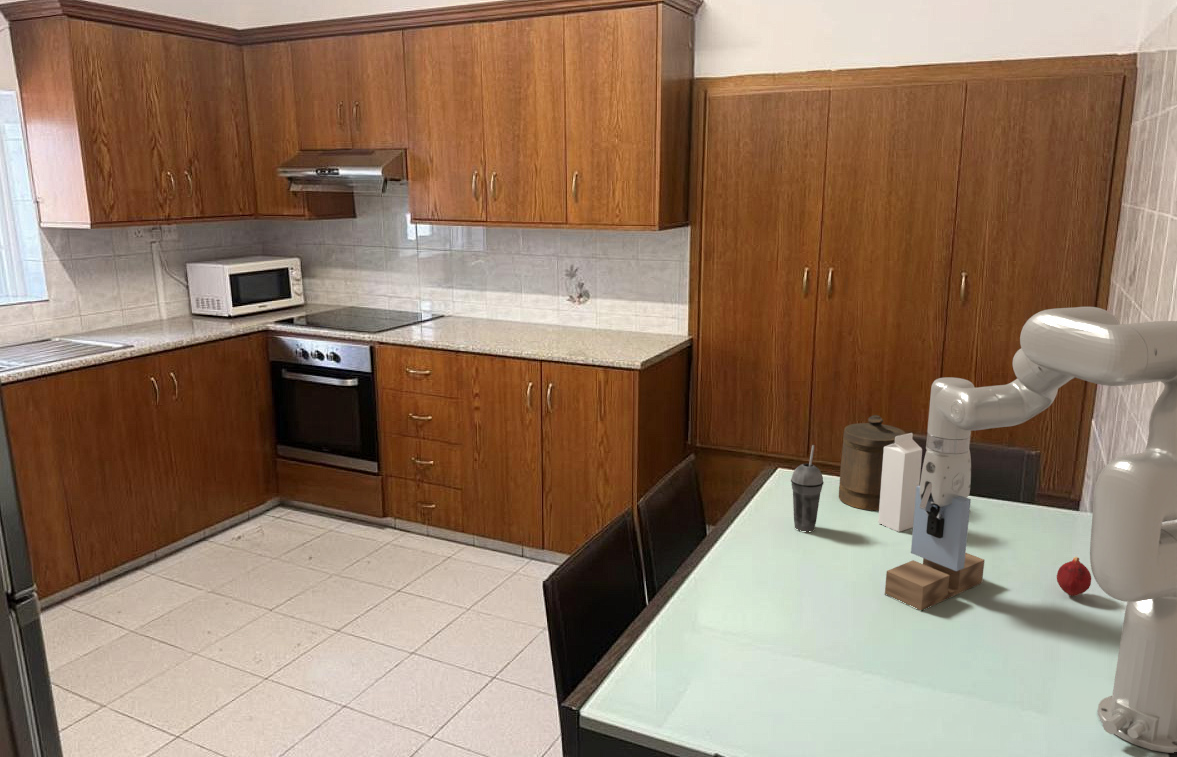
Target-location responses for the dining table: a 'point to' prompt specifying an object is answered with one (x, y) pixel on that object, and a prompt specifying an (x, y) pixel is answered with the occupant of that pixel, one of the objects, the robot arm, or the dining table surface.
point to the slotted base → (932, 581)
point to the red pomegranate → (1074, 577)
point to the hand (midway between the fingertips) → (939, 533)
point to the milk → (899, 483)
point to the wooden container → (864, 462)
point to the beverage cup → (806, 495)
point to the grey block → (954, 537)
